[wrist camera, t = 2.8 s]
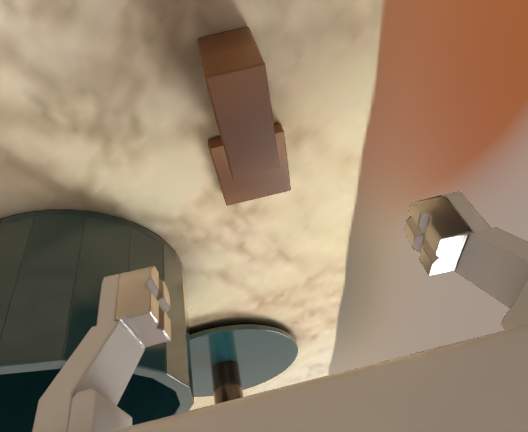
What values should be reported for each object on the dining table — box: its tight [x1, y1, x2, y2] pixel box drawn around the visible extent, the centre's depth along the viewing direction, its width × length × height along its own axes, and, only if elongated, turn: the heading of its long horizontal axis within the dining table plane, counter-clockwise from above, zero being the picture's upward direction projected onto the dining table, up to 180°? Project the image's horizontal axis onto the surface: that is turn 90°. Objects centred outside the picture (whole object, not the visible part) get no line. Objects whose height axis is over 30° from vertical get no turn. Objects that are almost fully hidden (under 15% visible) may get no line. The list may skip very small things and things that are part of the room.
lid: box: [189, 324, 298, 404], centre depth 38 cm, size 15×15×5 cm
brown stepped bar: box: [198, 27, 291, 205], centre depth 19 cm, size 10×4×4 cm, turn 8°
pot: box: [0, 210, 194, 432], centre depth 24 cm, size 14×15×9 cm
